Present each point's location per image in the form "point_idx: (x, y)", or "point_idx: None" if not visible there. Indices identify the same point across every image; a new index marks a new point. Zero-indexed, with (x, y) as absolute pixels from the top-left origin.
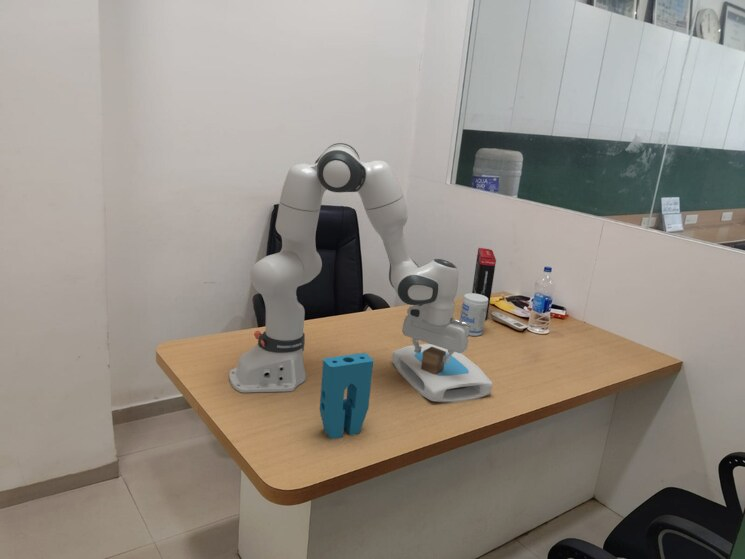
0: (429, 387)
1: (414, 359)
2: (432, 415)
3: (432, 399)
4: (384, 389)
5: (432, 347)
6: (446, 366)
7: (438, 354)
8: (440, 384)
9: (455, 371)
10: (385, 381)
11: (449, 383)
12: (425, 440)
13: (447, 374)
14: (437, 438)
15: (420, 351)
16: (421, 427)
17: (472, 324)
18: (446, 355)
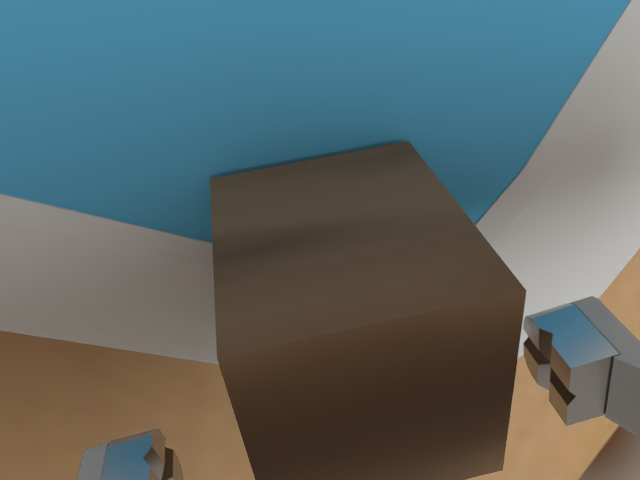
0: None
1: (6, 244)
2: None
3: None
4: (148, 416)
5: (255, 373)
6: (369, 9)
7: (482, 436)
8: (520, 340)
9: (525, 26)
10: (50, 366)
11: (584, 292)
12: (568, 472)
13: (487, 172)
14: (601, 437)
15: (160, 444)
16: (515, 445)
17: None
18: (590, 372)
